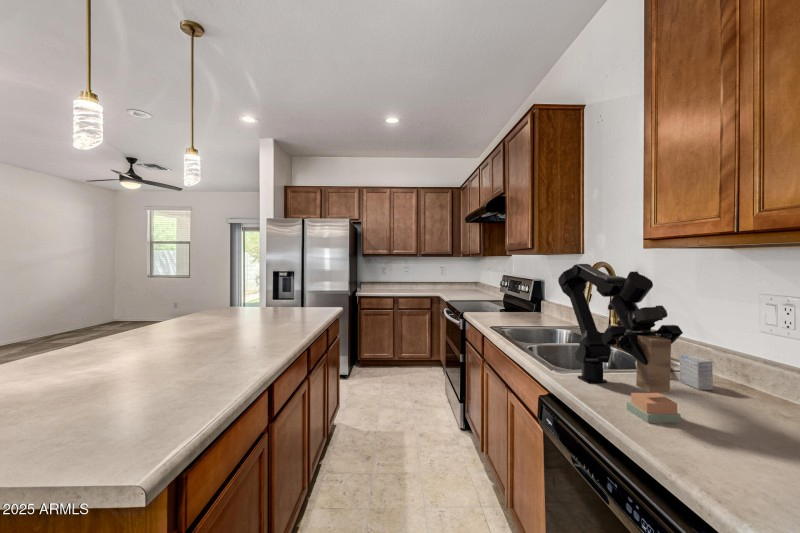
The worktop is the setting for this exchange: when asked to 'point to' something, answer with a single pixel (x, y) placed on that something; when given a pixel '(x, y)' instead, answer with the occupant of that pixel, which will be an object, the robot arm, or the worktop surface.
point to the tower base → (652, 415)
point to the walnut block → (654, 364)
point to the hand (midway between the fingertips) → (657, 364)
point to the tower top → (654, 403)
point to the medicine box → (696, 372)
